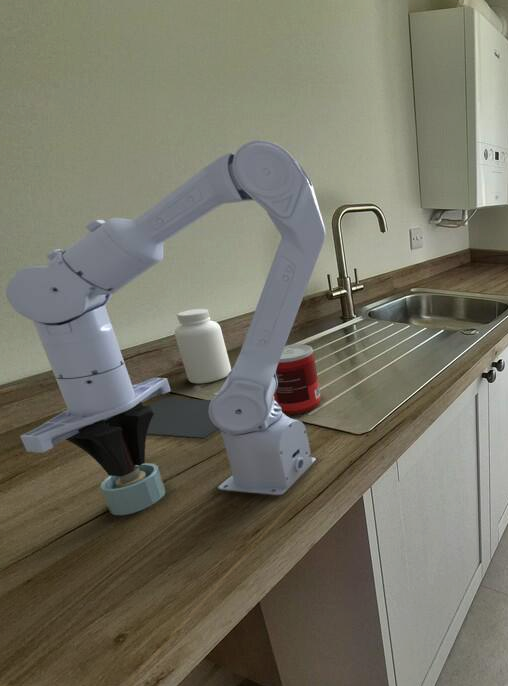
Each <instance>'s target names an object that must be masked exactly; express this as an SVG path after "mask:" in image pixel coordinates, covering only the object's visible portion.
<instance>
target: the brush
mask: <svg viewBox="0 0 508 686" xmlns="http://www.w3.org/2000/svg"><path fill="white" fill-rule="evenodd" d="M114 427H121V426H114ZM121 428H122V427H121ZM121 443H122V451H123V454H124V457H125V460H126V463H127V466H128V473H127V474H126V475H124V476H118V478H119V479H118V480H117V481H116V485H117V488H123V487H126V486H130V485H133V484H135V483H137V482H140V481H142V480H143V479H145V478H146V474H145V472H144V471H140V470H139V467H137V466H136V465H135V462H134V460H133V457H132V454H131V451H130V449H129V446H128V443H127V440H126V437H125V435H124V432H123V429H122V433H121Z"/></svg>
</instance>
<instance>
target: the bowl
mask: <svg viewBox="0 0 508 686" xmlns="http://www.w3.org/2000/svg"><path fill="white" fill-rule="evenodd" d="M136 466H137V467H139V470H140V471H144V472H145V474H146V478H145V479H143V480H142V481H140V482H137V483H135V484H133V485H130V486H126V487H123V488H117V485H116V481H117V480H118V479H119V478H118V476H110V475H108V476H107V477H106V478H105V479H103V481H102V482H100V486H99V488H100V492H101V493H102V497H103V498H104V502H105V505H106V506H107V509H108V511H109V513H110V514H112V515H115V516H125V515H132V514H134V513H137V512H140V511H142V510H145V509H147V508H150V507H151V506H153V505H155V504H156V503H157V502H159V501H160V500H161V499H162V498H163V497H164V496H165V494H166V487H165V484H164V481H163V478H162V475H161V472H160V469H159V466H158V465H157V464H155V463H149V462H145V463H143V464H142V465H136Z"/></svg>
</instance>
